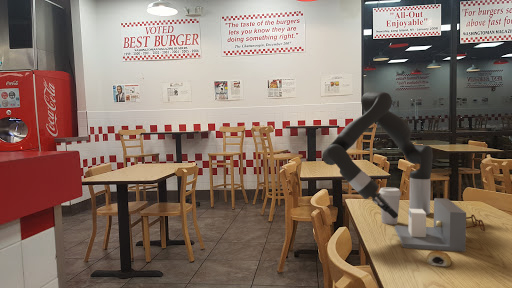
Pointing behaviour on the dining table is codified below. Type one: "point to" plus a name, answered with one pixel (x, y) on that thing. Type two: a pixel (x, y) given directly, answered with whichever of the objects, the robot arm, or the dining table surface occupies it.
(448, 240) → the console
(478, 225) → the glasses
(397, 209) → the coffee cup
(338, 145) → the robot arm
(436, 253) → the pastry
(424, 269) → the dining table surface
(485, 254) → the dining table surface
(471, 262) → the dining table surface
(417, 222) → the white box
